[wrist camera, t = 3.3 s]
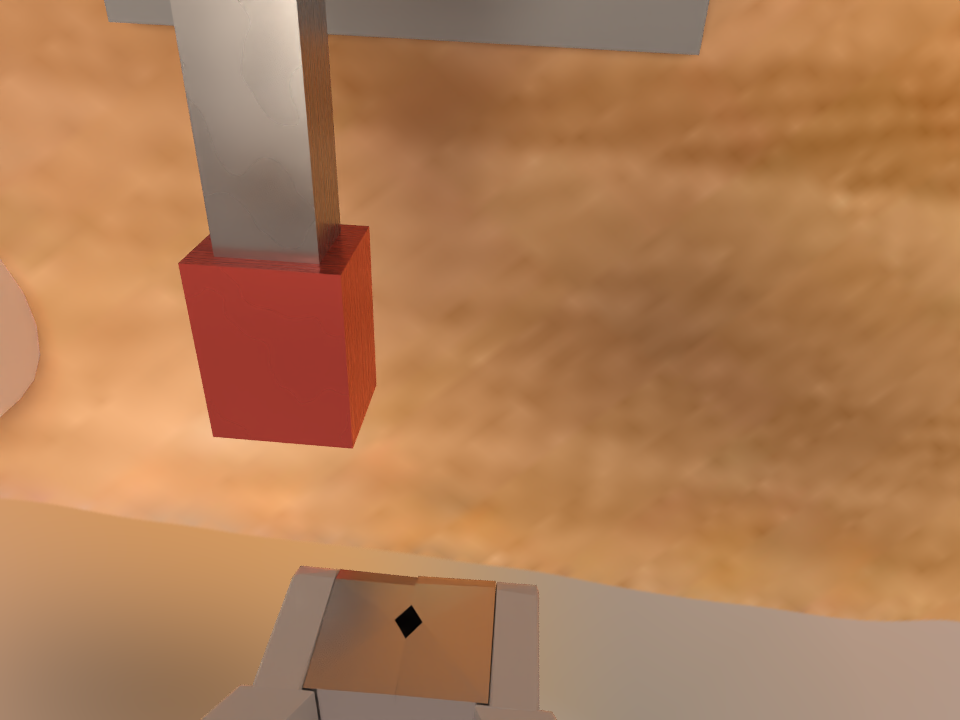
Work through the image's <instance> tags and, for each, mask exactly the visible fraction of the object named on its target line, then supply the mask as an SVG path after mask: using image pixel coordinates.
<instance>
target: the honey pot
mask: <svg viewBox="0 0 960 720" xmlns="http://www.w3.org/2000/svg"><path fill="white" fill-rule="evenodd" d="M39 357H40V350H39V341H38V332H37V325H36V322H35V320H34V317H33V315H32V312H31V310H30V307H29V305H28V303H27V300H26V298H25V295H24V293H23V291H22V290H21V288H20V287H19V285H18V284H17V282H16V281H15V280H14V278H13V277H12V275H11V274H10V272H9V271H8V269H7V268H6V266H5V265H4V263H3V262H2V260H1V259H0V417H1V416H2V415H3V414H4V413H5V412H7V411H8V410H9V409H10V408H11V407H12V406H13V405H14V404H15V403H16V402H18V401H19V400H20V399H21V397H22V396H23V395H24V393H25V392H26V391H27V389H28V388H29V386H30V385H31V384H32V382H33V381H34V379H35V375H36V370H37V366H38V362H39Z"/></svg>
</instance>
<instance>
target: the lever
mask: <svg viewBox="0 0 960 720" xmlns="http://www.w3.org/2000/svg"><path fill="white" fill-rule="evenodd" d="M170 3H171V9H172V15H173V21H174V27H175V33H176V38H177V44H178V50H179V56H180V62H181V68H182V73H183V79H184V85H185V91H186V97H187V103H188V108H189V114H190V120H191V126H192V132H193V138H194V143H195V149H196V155H197V161H198V167H199V173H200V178H201V184H202V190H203V196H204V202H205V208H206V213H207V219H208V225H209V231H210V234H209V235H208V236H207V237H206V238H205V239H204V240H203V241H202V242H201V243H200V244H199V245H198V246H196V247H195V248H194V249H193V250H192V251H191V252H190V253H189V254H188V255H187V256H186V257H185V258H184V259H182V260H181V261H180V262H179V263H178V264H179V269H180V274H181V279H182V284H183V289H184V294H185V299H186V304H187V309H188V314H189V319H190V324H191V329H192V334H193V339H194V344H195V349H196V354H197V359H198V364H199V369H200V374H201V379H202V384H203V388H204V393H205V398H206V403H207V408H208V413H209V418H210V423H211V428H212V433H213V437H223V438H235V439H247V440H258V441H270V442H282V443H294V444H305V445H317V446H329V447H341V448H353V447H354V444H355V441H356V438H357V436H358V433H359V430H360V428H361V425H362V422H363V420H364V417H365V414H366V412H367V409H368V406H369V403H370V401H371V398H372V395H373V393H374V390H375V387H376V367H375V344H374V322H373V300H372V278H371V255H370V233H369V226H356V225H342V224H340V212H339V198H338V183H337V168H336V153H335V138H334V124H333V109H332V94H331V79H330V64H329V50H328V35H327V20H326V5H325V0H170Z"/></svg>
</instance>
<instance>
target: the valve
mask: <svg viewBox="0 0 960 720" xmlns="http://www.w3.org/2000/svg"><path fill="white" fill-rule="evenodd" d="M104 1H105V6H106V11H107V15H108V20H109V22H120V23H137V24H155V25H173V26H174V21H173V15H172V9H171V3H170V0H104ZM325 5H326V20H327V34H333V35H351V36H369V37H387V38H404V39H422V40H440V41H458V42H476V43H494V44H511V45H529V46H547V47H565V48H583V49H600V50H618V51H636V52H654V53H672V54H689V55H699V53H700V47H701V42H702V37H703V32H704V26H705V21H706V16H707V10H708V5H709V0H325Z"/></svg>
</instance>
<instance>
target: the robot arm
mask: <svg viewBox="0 0 960 720" xmlns="http://www.w3.org/2000/svg"><path fill="white" fill-rule="evenodd" d="M495 590H496V593H495ZM200 720H557V719H556V717H555V716H554V714H553V712H551V711H543V710H539V592H538V589H537V586H536V585H527V584H514V583H502V582H497V584H496V581H486V580H485V581H484V580H471V579H454V578H439V577H425V576H418V577H408V576H399V575H390V574H380V573H371V572H361V571H352V570H342V569H330V568H319V567H309V566H300V567H299V569H298V570H297V572H296V573H295V574H294V576H293V577H292V580H291V583H290V585H289V588H288V591H287V594H286V596H285V599H284V602H283V604H282V607H281V610H280V613H279V615H278V618H277V620H276V623H275V626H274V629H273V632H272V634H271V637H270V639H269V642H268V645H267V648H266V650H265V653H264V656H263V658H262V661H261V664H260V667H259V669H258V672H257V675H256V677H255V680H254V683H253V685H239V686H238V687H237V688H236V689H235V690H233V691H232V692H231V693H230V694H229V695H228V696H227V697H226V698H224V699H223V700H222V701H221V702H220V703H219V704H217V705H216V706H215V707H214V708H213V709H212V710H211V711H209V712H208V714H206V715H205V716H204V717H203V718H202V719H200Z"/></svg>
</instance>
